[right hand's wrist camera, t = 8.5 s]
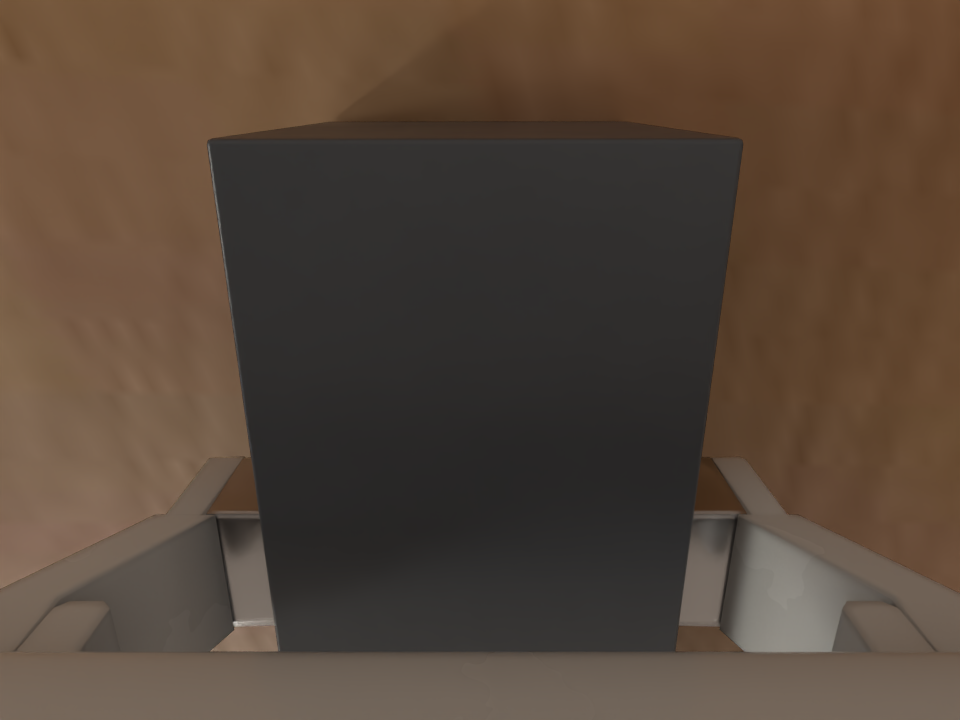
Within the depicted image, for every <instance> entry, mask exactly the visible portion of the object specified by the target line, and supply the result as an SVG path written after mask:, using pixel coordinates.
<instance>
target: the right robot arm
mask: <svg viewBox="0 0 960 720" xmlns="http://www.w3.org/2000/svg"><path fill="white" fill-rule="evenodd" d="M240 626H275V623H274V616H273V609H272V602H271V595H270V588H269V581H268V574H267V567H266V559H265V552H264V545H263V538H262V531H261V524H260V517H259V510H258V503H257V496H256V488H255V481H254V474H253V467H252V460H251V457H248V458H245V457H215V458H209V459H208V460H207V462H206V463H205V464H204V465H203V467H202V468H201V469H200V471H199V472H198V473H197V475H196V476H195V477H194V478H193V480H192V481H191V482H190V484H189V485H188V486H187V488H186V489H185V490H184V492H183V493H182V494H181V495H180V497H179V498H178V499H177V501H176V502H175V503H174V505H173V506H172V507H171V508H170V510H169V511H168V512H167V514H166V515H154V516H151V517H149V518H147V519H145V520H143V521H141V522H139V523H137V524H135V525H133V526H131V527H129V528H127V529H124V530H122V531H120V532H118V533H116V534H114V535H112V536H110V537H108V538H106V539H104V540H102V541H99V542H97V543H95V544H93V545H91V546H89V547H87V548H85V549H83V550H81V551H79V552H77V553H74V554H72V555H70V556H68V557H66V558H64V559H62V560H60V561H58V562H56V563H54V564H52V565H50V566H47V567H45V568H43V569H41V570H39V571H37V572H35V573H33V574H31V575H29V576H27V577H25V578H22V579H20V580H18V581H16V582H14V583H12V584H10V585H8V586H6V587H4V588H2V589H0V720H960V593H958V592H956V591H954V590H952V589H950V588H948V587H946V586H944V585H942V584H940V583H937V582H935V581H933V580H931V579H929V578H927V577H925V576H923V575H921V574H919V573H917V572H915V571H913V570H911V569H909V568H907V567H905V566H903V565H900V564H898V563H896V562H894V561H892V560H890V559H888V558H886V557H884V556H882V555H880V554H878V553H876V552H874V551H872V550H870V549H868V548H866V547H863V546H861V545H859V544H857V543H855V542H853V541H851V540H849V539H847V538H845V537H843V536H841V535H839V534H837V533H835V532H833V531H831V530H829V529H826V528H824V527H822V526H820V525H818V524H816V523H814V522H812V521H810V520H808V519H806V518H804V517H802V516H800V515H788V514H787V513H786V512H785V511H784V509H783V508H782V507H781V505H780V504H779V503H778V501H777V500H776V499H775V497H774V496H773V495H772V493H771V492H770V491H769V489H768V488H767V487H766V485H765V484H764V483H763V481H762V480H761V479H760V478H759V476H758V475H757V474H756V472H755V471H754V470H753V468H752V467H751V466H750V464H749V463H748V462H747V460H746V459H744V458H742V457H740V456H738V457H715V458H710V457H701V463H700V470H699V478H698V485H697V493H696V500H695V508H694V515H693V523H692V530H691V538H690V545H689V553H688V560H687V567H686V575H685V582H684V590H683V597H682V605H681V612H680V620H679V626H713V627H720V630H721V631H722V632H723V633H724V634H725V635H726V636H728V637H729V638H730V639H731V640H732V641H733V642H734V643H735V644H737V645H738V646H739V647H740V648H741V649H742V650H743V651H744V652H209V651H211V650H212V649H213V648H214V647H215V646H216V645H217V644H219V643H220V642H221V641H222V640H223V639H224V638H225V637H226V636H228V635H229V634H230V633H231V632H232V631H233V630H234V627H240Z"/></svg>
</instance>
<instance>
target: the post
mask: <svg viewBox="0 0 960 720" xmlns="http://www.w3.org/2000/svg"><path fill="white" fill-rule="evenodd" d="M207 148H208V155H209V162H210V169H211V176H212V183H213V190H214V197H215V204H216V212H217V219H218V226H219V233H220V240H221V247H222V254H223V261H224V268H225V275H226V283H227V290H228V297H229V304H230V311H231V318H232V325H233V332H234V339H235V346H236V354H237V361H238V368H239V375H240V382H241V389H242V396H243V403H244V410H245V417H246V425H247V432H248V439H249V446H250V453H251V460H252V467H253V474H254V481H255V488H256V496H257V503H258V510H259V517H260V524H261V531H262V538H263V545H264V552H265V559H266V567H267V574H268V581H269V588H270V595H271V602H272V609H273V616H274V623H275V630H276V638H277V645H278V652H675V650H676V642H677V635H678V627H679V620H680V612H681V605H682V597H683V590H684V582H685V575H686V567H687V560H688V553H689V545H690V538H691V530H692V523H693V515H694V508H695V500H696V493H697V485H698V478H699V470H700V463H701V456H702V448H703V441H704V433H705V426H706V418H707V411H708V403H709V396H710V388H711V381H712V373H713V366H714V358H715V351H716V344H717V336H718V329H719V321H720V314H721V306H722V299H723V291H724V284H725V276H726V269H727V261H728V254H729V247H730V239H731V232H732V224H733V217H734V209H735V202H736V194H737V187H738V179H739V172H740V164H741V157H742V149H743V141H742V140H741V139H739V138H734V137H728V136H721V135H714V134H707V133H700V132H693V131H686V130H680V129H673V128H666V127H659V126H652V125H645V124H638V123H632V122H325V123H318V124H311V125H304V126H297V127H290V128H283V129H276V130H269V131H262V132H255V133H248V134H241V135H234V136H227V137H220V138H213V139H210V140H208V143H207Z"/></svg>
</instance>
